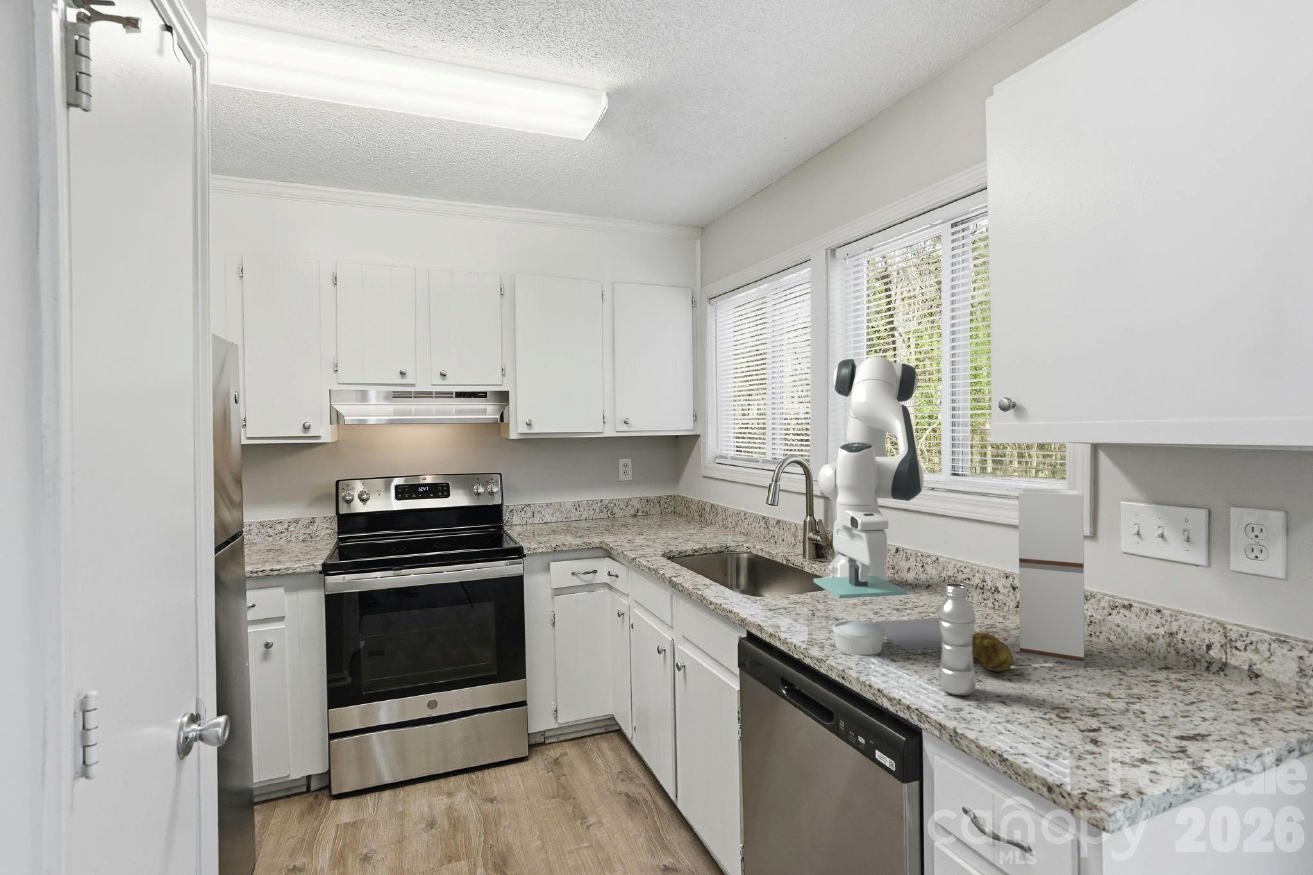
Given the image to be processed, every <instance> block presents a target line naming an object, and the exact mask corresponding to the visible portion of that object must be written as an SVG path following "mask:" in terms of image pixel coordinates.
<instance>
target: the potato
mask: <svg viewBox="0 0 1313 875" xmlns="http://www.w3.org/2000/svg"><path fill="white" fill-rule="evenodd" d="M972 646H973V647H972V653H973V663H974V665H978V666H980V667H982V668H983V669H987V670H991V671H993V672H1006V671H1008V670H1009V669H1010V668H1011V666H1012V665H1013V662H1014V657H1013V654H1012V651H1011V649H1010V648H1009V647H1008V645H1006V644H1005V643H1004V642H1002V641H1001V640H1000V639H998V638H997V637H996V636H994V635H993V634H990V633H988V632H977V633H973V644H972Z"/></svg>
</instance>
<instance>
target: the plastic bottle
mask: <svg viewBox="0 0 1313 875" xmlns="http://www.w3.org/2000/svg"><path fill="white" fill-rule="evenodd" d="M944 595H945V596H946V598H945V599H944V600H943V601H942V603H941V605H940V606H938V607H939V608H938V611H937V616H938V617H937V618H939V624H940V630H941V641H942V647H941V651H940V652H941V654H940V664H939V669H938V675H937V676H938V681H939V685H940V687H941V689H942V690H943V691H944V692H945V693H948V694H951V695H956V696H970V695H972V694H973V692H974V691H975V690H976V687H977V675H976V670H975V666H974V665H975V664H974V663H973V653H972V647H973V646H972V644H973V634H974V632H975V625H976V624H975V622H976V614H975V610H974V608H973V607H972V605H971V603H969V601H968V599H967V597H968V587H967V585H966V584H963V583H957V582H956V583H955V582H950V583H946V584H945V591H944Z"/></svg>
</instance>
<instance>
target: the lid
mask: <svg viewBox="0 0 1313 875" xmlns="http://www.w3.org/2000/svg"><path fill="white" fill-rule="evenodd" d="M859 568H860V566H859V565H849V577H834V578H823V577H819V578H816V577H815V578H813V583H814V584H816V585H818V586H819V587H821V588H822V589H823V590H826V591H827V592H828V593H830V594H831V595H833V596H835V597H836V598H838V599H840V600H841V599H855V598H856V599H857V598H873V597H877V598H878V597H891V596H892V597H893V596H894V597H895V596H907V595H908V590H906V589H904V588H902V587H900V586H898V585H896V584H894V583H892V582H890V581H886V580H884V579H882V578H879V577H877V576H875V575H873V576H868V580H867V581H866V582H861V581H859V580H858V579H857V572H859Z"/></svg>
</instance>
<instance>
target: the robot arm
mask: <svg viewBox="0 0 1313 875" xmlns="http://www.w3.org/2000/svg"><path fill="white" fill-rule="evenodd" d="M832 375H833V376H832V382H833V386H834V391H835V392H836V393H837V394H838V395H840V396H843V397H850V405H849V406H850V407H849V412H848V419H847V427H846V432H845V433H846V435H845V438H846V440H847V443H845V444H842V445H840V446H839V448H838V451H837V456H836V461H834V462H830V463H826V464H824V465H823V466H822V467H821V468H820V470H819V471H818V475H817V484H818V487H819V489H820V491H821V492H822V493H823V495H825V496H826V497H827V498H829V500H831V502H832V503H833V505H834V506H835V509H836V520H834V523H833V531H832V532H833V533H832V534H833V535H832V536H833V537H832V546H833V550H834V551H836V552H837V553H838V554H837V556H835V558H833V560H832V561H831V562H830V564H829V565H827V570H826V571H827V574H829V575H826V576H823V577H822V578H834V577H849V565H859V566H860V568H859V572H857V579H858V580H859V581H861V582H866V581H867V580H868V576H873V575H875V576H877V577H879V578H882V579H884V580H886V581H887V570H886V562H887V558H888V535H887V533H886V531H885V530H888V529H889V520H888V519H887V518H886V516H885V515H883V513H882V512H881V510H880V509H879V501H878V499H889V500H890V499H891V500H896V501H898V500H899V501H906V502H910V501H911V500H913V499H914V498H915V497H917V496H918V495H919V494H921V492H922V490H923V488H924V472H923V468H922V467H921V464H920V460H919V459H918V454H917V445H916V438H915V433H914V427H913V423H912V418H911V413H910V410H909V408H908V407H907V406H906V405H904V404H902V402H907V401H909V400H910V399H912V398H913V395H914V394H915V392H916V391H917V389H918V388H917V387H918V382H919V381H918V375H917V370H916V368H915V367H914V366H913V365H909V364H908V363H907V364H906V363H903V362H901V363H898V362H893V361H891V360H889V359H888V358H886V357H883V356H870V357H868V358H866V359H857V360H856V359H854V358H847V359H842V360H841V361H840V362H838V365H837V366H836V367H835V370H834V372H833V374H832ZM887 433H890V434H891V435H893V436H894V437H896V442H897V449H898V454H897V455H893V456H889V455H888V452H887V447H886V440H887Z"/></svg>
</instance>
